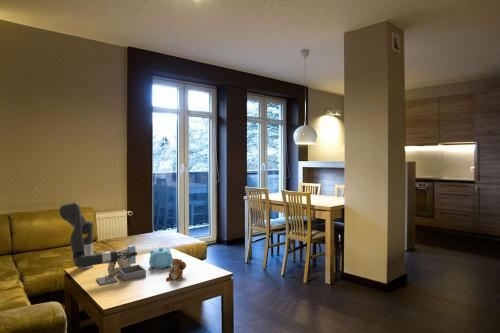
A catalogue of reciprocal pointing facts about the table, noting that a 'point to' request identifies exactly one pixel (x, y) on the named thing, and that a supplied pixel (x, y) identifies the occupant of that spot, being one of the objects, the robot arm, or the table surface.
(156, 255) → the decorative pot
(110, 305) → the table surface
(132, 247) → the strut
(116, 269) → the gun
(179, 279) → the stuffed squirrel
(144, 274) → the bin
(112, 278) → the stud plate
